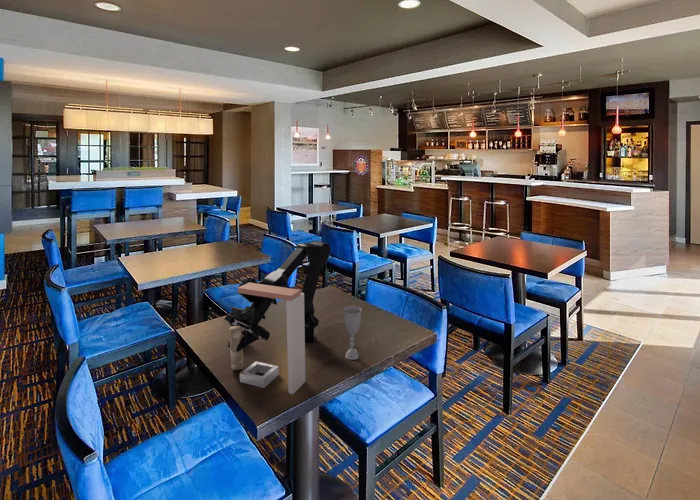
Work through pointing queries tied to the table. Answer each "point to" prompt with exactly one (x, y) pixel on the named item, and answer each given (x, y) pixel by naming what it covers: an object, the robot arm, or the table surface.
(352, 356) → the chalice
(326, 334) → the table surface
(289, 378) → the inverted l-shaped panel
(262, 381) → the socket
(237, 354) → the peg
